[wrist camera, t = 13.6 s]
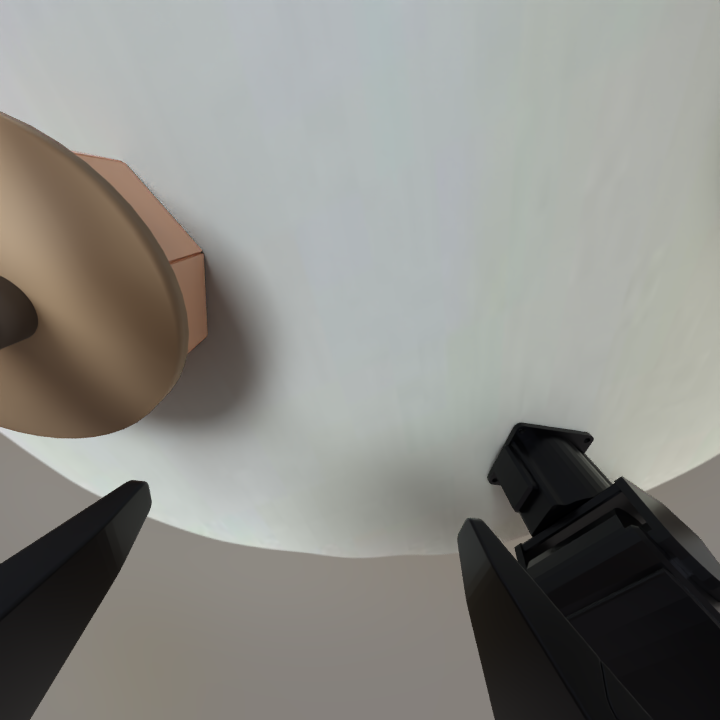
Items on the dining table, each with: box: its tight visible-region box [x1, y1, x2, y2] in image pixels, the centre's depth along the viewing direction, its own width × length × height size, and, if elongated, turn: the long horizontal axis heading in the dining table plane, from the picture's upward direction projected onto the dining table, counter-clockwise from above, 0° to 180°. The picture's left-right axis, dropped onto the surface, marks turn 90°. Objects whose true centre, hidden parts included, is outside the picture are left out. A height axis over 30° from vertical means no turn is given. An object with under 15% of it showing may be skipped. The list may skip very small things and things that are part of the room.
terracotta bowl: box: [70, 150, 208, 354], centre depth 16 cm, size 13×13×4 cm
